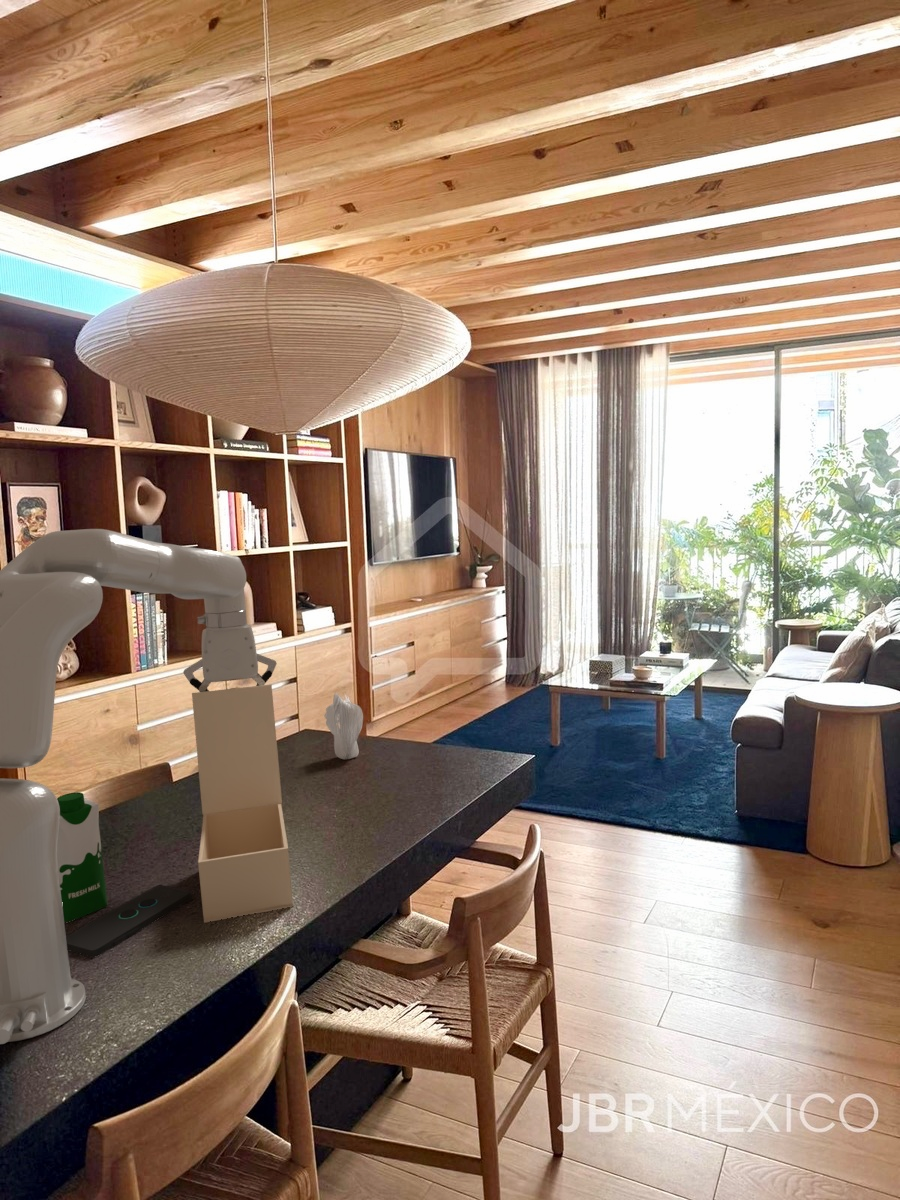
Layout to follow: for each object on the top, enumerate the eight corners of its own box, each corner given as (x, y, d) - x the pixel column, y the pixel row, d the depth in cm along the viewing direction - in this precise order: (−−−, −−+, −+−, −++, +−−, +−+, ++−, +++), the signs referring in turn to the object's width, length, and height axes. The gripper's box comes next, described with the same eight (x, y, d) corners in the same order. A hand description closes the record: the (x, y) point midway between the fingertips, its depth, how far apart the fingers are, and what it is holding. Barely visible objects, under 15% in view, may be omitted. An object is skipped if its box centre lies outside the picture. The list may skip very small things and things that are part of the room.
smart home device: (193, 890, 137) (94, 950, 120) (194, 900, 138) (95, 961, 120) (157, 883, 141) (57, 939, 124) (158, 892, 141) (58, 950, 124)
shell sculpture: (352, 750, 219) (347, 685, 217) (367, 757, 212) (362, 690, 210) (324, 757, 214) (319, 691, 212) (339, 764, 207) (334, 695, 205)
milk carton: (63, 927, 130) (49, 807, 128) (38, 912, 135) (24, 797, 133) (115, 905, 136) (103, 791, 134) (89, 892, 142) (76, 782, 140)
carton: (293, 906, 132) (288, 848, 131) (204, 922, 129) (198, 862, 127) (285, 854, 153) (281, 803, 152) (208, 866, 150) (203, 814, 149)
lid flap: (271, 684, 152) (270, 682, 159) (191, 693, 149) (194, 690, 155) (282, 803, 152) (280, 795, 159) (202, 814, 149) (204, 806, 155)
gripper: (177, 626, 149) (186, 717, 150) (273, 618, 153) (280, 707, 155) (180, 622, 156) (188, 709, 158) (271, 614, 160) (278, 699, 162)
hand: (234, 708), depth 156 cm, fingers open, 9 cm apart
